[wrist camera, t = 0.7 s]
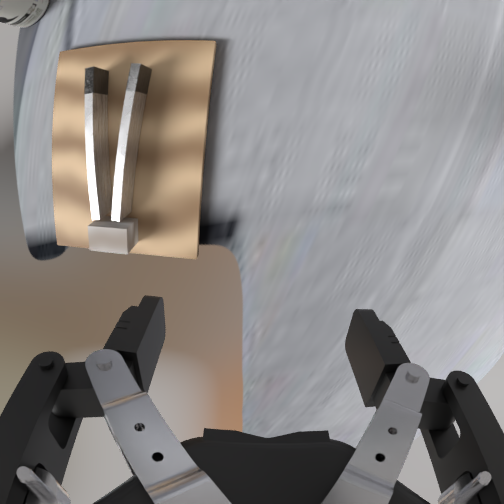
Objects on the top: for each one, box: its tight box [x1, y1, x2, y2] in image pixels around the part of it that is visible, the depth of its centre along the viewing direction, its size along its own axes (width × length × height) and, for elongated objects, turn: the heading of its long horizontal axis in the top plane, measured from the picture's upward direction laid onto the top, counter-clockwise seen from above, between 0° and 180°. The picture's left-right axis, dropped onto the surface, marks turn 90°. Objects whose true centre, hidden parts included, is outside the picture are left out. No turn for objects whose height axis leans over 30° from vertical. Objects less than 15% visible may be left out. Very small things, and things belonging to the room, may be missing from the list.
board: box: [52, 40, 217, 259], centre depth 32 cm, size 26×20×6 cm
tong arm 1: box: [84, 66, 112, 220], centre depth 31 cm, size 17×1×4 cm, turn 179°
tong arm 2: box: [111, 63, 152, 222], centre depth 31 cm, size 17×1×4 cm, turn 169°
